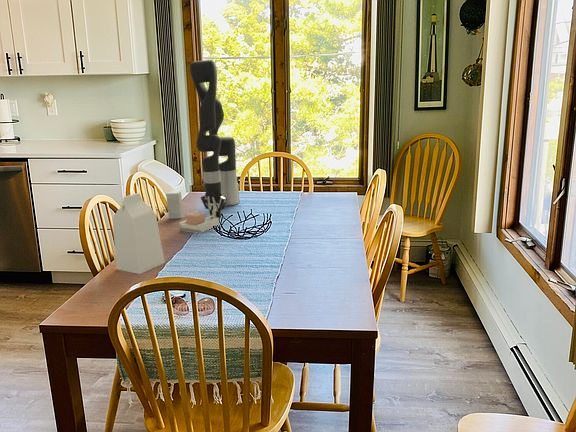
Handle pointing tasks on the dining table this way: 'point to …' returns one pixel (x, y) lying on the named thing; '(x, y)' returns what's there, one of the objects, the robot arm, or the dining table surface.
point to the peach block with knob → (198, 217)
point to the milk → (136, 236)
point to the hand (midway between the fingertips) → (215, 218)
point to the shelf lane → (199, 226)
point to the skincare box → (174, 204)
